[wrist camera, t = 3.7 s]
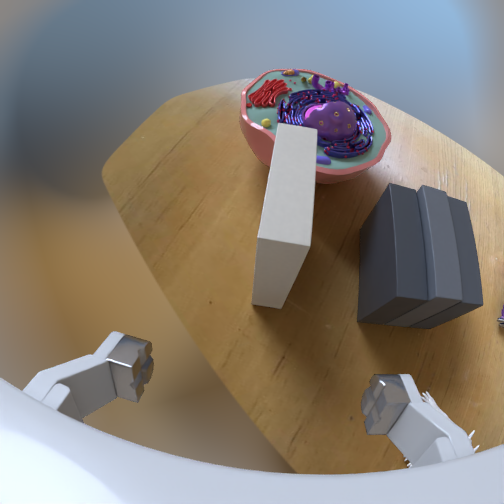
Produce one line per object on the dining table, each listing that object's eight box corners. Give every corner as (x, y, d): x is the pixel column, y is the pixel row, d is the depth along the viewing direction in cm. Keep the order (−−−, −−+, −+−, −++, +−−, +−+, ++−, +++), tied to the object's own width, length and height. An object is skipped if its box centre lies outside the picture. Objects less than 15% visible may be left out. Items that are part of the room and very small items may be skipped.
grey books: (425, 243, 33) (468, 199, 24) (429, 329, 28) (487, 303, 19) (359, 229, 33) (393, 176, 24) (356, 321, 28) (402, 292, 19)
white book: (292, 221, 33) (317, 127, 21) (281, 309, 29) (310, 246, 16) (266, 216, 33) (278, 120, 21) (251, 304, 29) (257, 237, 16)
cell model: (325, 105, 43) (338, 48, 33) (390, 201, 35) (429, 141, 25) (223, 120, 40) (220, 55, 30) (269, 232, 33) (279, 163, 22)
